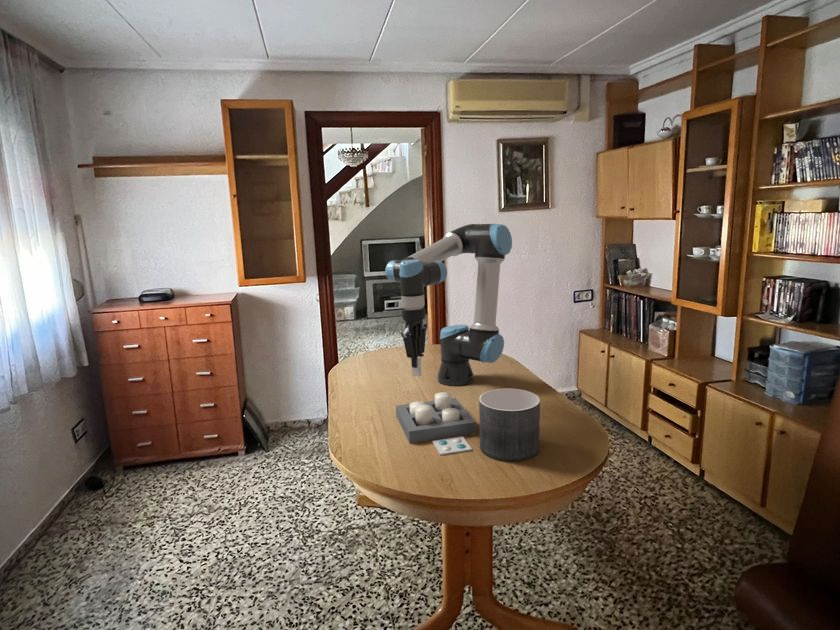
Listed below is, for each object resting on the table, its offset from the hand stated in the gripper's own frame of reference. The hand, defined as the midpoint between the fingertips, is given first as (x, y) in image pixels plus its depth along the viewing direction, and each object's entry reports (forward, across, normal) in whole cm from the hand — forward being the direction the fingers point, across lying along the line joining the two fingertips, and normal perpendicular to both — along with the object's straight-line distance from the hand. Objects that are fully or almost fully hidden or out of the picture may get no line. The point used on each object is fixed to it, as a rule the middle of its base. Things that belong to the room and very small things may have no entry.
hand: (417, 375), depth 175 cm
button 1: (+16, +1, 0) cm, 16 cm away
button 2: (+13, +7, +6) cm, 16 cm away
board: (+16, +1, +6) cm, 18 cm away
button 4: (+16, +1, +13) cm, 20 cm away
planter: (+17, +5, +35) cm, 39 cm away
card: (+16, +12, +19) cm, 28 cm away
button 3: (+14, -6, +6) cm, 16 cm away
